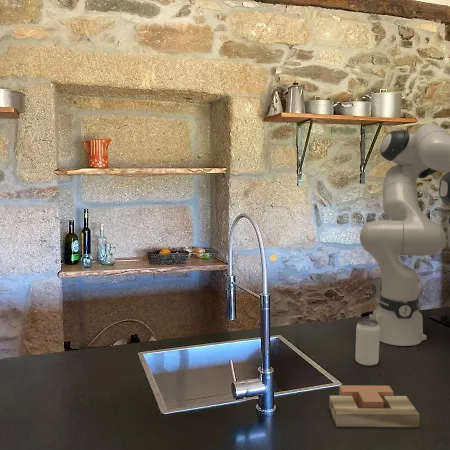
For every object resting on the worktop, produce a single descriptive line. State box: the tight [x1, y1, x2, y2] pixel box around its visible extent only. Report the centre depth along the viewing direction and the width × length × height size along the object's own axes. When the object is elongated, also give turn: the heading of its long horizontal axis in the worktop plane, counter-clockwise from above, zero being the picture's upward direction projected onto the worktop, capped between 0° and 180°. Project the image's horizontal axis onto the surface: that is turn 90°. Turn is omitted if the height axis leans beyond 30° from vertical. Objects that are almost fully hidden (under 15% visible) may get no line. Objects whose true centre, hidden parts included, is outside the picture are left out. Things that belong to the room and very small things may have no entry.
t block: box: [338, 384, 394, 408], centre depth 116 cm, size 8×12×4 cm
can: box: [354, 318, 380, 367], centre depth 144 cm, size 6×6×12 cm
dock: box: [328, 395, 421, 428], centre depth 113 cm, size 8×18×3 cm, turn 89°
